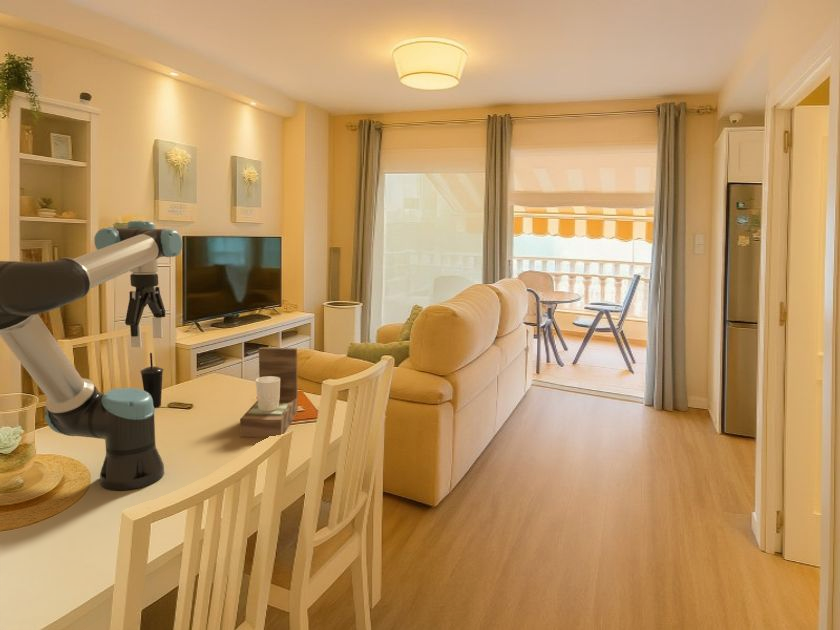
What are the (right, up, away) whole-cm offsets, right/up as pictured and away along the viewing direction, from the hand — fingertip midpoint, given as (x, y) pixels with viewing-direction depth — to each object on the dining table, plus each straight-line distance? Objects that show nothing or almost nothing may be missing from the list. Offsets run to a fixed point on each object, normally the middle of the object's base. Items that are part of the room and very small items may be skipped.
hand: (147, 342), depth 171 cm
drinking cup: (-15, -25, +34) cm, 45 cm away
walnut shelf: (+33, -29, +19) cm, 48 cm away
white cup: (+33, -23, +16) cm, 43 cm away
